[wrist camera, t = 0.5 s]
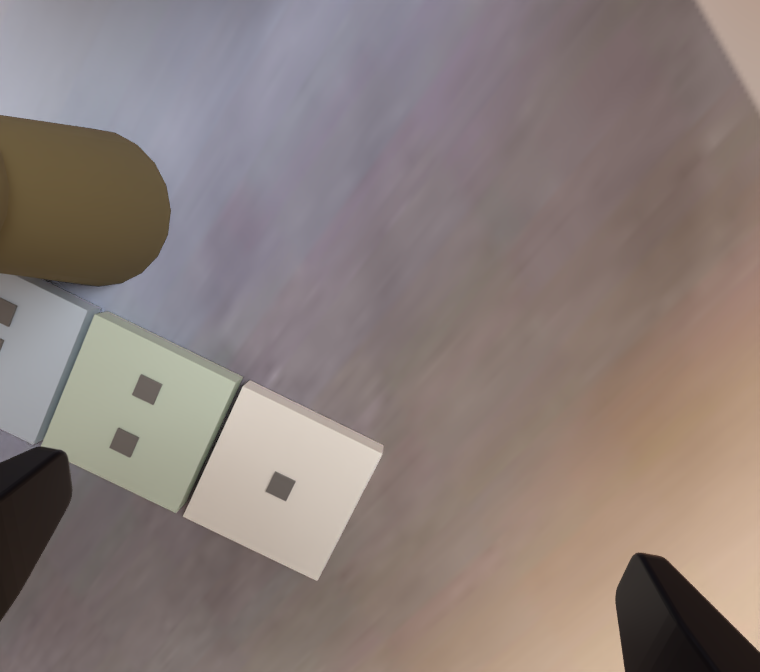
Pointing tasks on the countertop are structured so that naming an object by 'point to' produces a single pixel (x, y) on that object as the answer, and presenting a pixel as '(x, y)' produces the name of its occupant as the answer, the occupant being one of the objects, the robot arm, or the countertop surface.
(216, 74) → the countertop surface
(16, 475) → the robot arm
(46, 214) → the cork
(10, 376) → the tile strip
